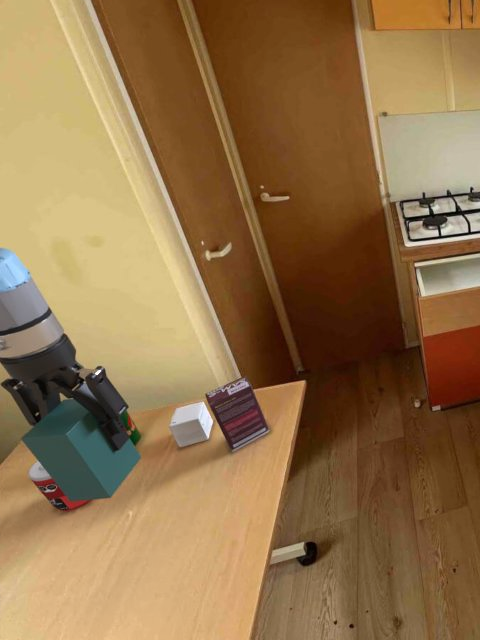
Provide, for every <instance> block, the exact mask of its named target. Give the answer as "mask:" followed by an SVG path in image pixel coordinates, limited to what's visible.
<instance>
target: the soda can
mask: <svg viewBox="0 0 480 640" xmlns="http://www.w3.org/2000/svg"><path fill="white" fill-rule="evenodd" d="M121 419H122V421H123V422H124V424H125V428H124V429H125V430H126V432H127V433H128V435H129V437H130V440H131V441H132V443H133V445H134V446H137V445H138V443H139V442H140V441H141V439H142V434H141V432H140V430H139V429H138V427H137V425H136V423H135V421H134V420H133V418H132V417H131V416H130V414H129V412H128V409H127V410H126V411H125V412H124V413H123V414H122V415H121Z"/></svg>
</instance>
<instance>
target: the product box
mask: <svg viewBox="0 0 480 640" xmlns="http://www.w3.org/2000/svg"><path fill="white" fill-rule="evenodd" d="M213 424H214V420H213V418H212V417H211V414H210V412H209V410H208V408H207V406H206V404H205V402H204V401H199V402H194V403H192V404H187V405H184V406H180V407H177V408H175V409H174V412H173V414H172V416H171V420H170V421H169V425H168V428H169V431H170V432H171V434H172V436H173V438H174V440H175V442H176V443H177V445H178V447H179V448H183V447H186V446H191V445H194V444H197V443H201V442H204V441H207V440H209V438H210V434H211V430H212V427H213Z"/></svg>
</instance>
